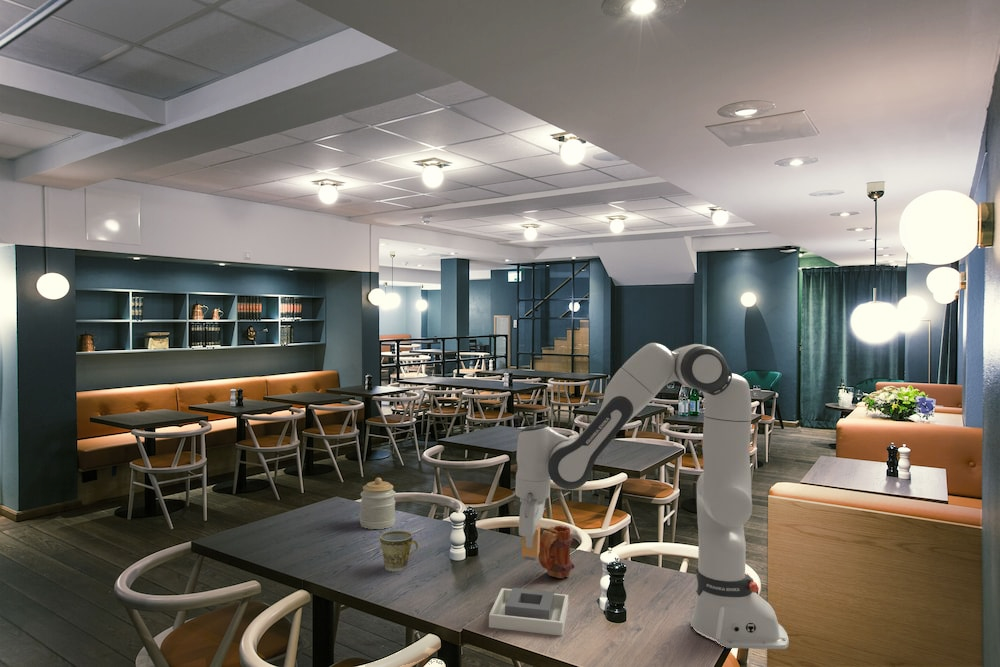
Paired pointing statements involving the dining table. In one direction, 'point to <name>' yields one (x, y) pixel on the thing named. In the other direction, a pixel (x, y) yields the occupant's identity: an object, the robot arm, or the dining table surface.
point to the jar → (377, 505)
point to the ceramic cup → (396, 549)
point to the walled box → (529, 624)
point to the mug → (556, 551)
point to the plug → (533, 551)
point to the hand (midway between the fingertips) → (531, 542)
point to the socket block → (530, 604)
